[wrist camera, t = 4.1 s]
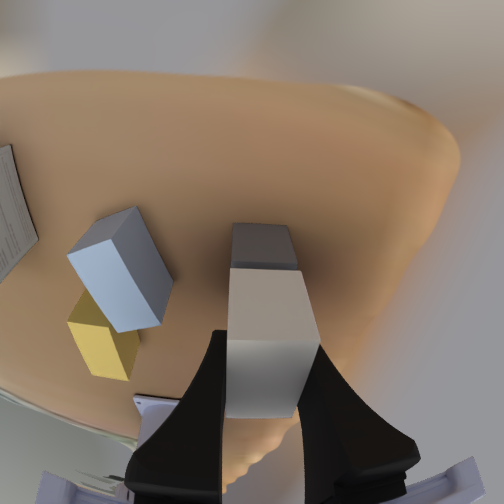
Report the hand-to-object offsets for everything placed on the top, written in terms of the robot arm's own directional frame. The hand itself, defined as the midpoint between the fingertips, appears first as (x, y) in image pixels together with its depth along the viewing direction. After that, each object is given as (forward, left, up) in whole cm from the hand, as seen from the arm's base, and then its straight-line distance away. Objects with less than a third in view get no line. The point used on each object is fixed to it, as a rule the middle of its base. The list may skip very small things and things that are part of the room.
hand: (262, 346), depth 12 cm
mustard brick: (-5, +10, -6) cm, 13 cm away
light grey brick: (0, 0, -2) cm, 2 cm away
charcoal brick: (0, 0, -6) cm, 6 cm away
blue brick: (+1, +7, -6) cm, 10 cm away
